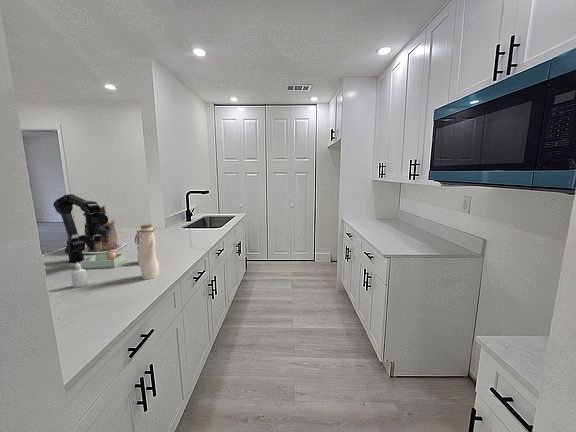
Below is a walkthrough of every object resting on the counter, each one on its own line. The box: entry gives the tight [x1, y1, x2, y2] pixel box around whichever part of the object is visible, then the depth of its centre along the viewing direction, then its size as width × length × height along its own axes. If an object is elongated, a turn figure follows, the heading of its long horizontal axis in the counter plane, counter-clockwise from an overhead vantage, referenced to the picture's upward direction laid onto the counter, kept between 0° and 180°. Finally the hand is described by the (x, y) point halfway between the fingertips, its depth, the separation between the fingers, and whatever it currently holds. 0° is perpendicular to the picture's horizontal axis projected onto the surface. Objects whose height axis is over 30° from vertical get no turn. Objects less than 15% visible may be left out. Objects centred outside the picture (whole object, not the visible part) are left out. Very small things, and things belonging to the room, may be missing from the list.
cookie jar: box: [82, 205, 129, 255], centre depth 191 cm, size 25×25×32 cm
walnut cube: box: [87, 241, 102, 252], centre depth 159 cm, size 5×5×5 cm
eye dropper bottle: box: [70, 262, 88, 289], centre depth 130 cm, size 4×6×12 cm
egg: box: [106, 251, 117, 260], centre depth 162 cm, size 5×5×7 cm
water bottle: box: [134, 223, 160, 280], centre depth 140 cm, size 10×9×28 cm
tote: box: [80, 253, 126, 270], centre depth 162 cm, size 18×14×4 cm
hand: (95, 249), depth 159 cm, fingers closed on walnut cube, 5 cm apart
